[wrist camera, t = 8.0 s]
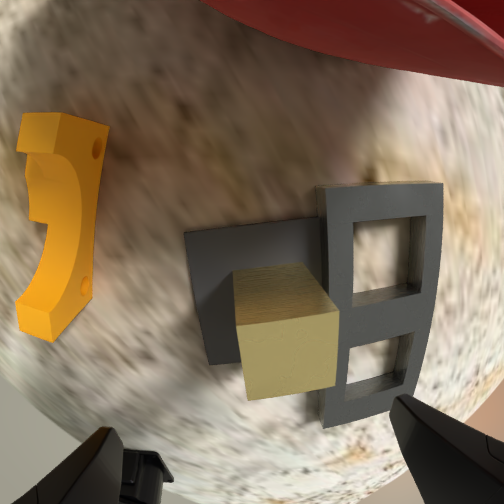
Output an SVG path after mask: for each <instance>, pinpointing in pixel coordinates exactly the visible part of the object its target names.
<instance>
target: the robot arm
mask: <svg viewBox="0 0 504 504" xmlns="http://www.w3.org/2000/svg"><path fill="white" fill-rule="evenodd" d="M389 417H390V421H391V424H392V426H393V429H394V432H395V435H396V438H397V441H398V444H399V447H400V450H401V453H402V455H403V457H404V460H405V462H406V464H407V466H408V468H409V470H410V472H411V474H412V476H413V478H414V481H415V483H416V485H417V487H418V489H419V491H420V494H421V496H422V498H423V500H424V503H425V504H504V442H502V441H499V440H497V439H495V438H493V437H490V436H488V435H485V434H484V433H482V432H480V431H478V430H475V429H474V428H472V427H470V426H468V425H466V424H464V423H462V422H460V421H458V420H456V419H454V418H452V417H450V416H448V415H446V414H444V413H442V412H440V411H438V410H437V409H435V408H433V407H431V406H429V405H427V404H425V403H423V402H421V401H420V400H418V399H416V398H414V397H412V396H410V395H409V394H401V395H398V396H396V397H395V398H394V400H393V403H392V406H391V409H390V413H389ZM163 482H169V483H172V482H174V478H173V476H172V475H171V473H170V471H169V470H168V468H167V467H166V465H165V463H164V462H163V460H162V458H161V457H160V455H159V454H158V453H156V452H148V451H132V450H123V443H122V441H121V439H120V437H119V436H118V434H117V432H116V431H115V429H114V428H113V427H106V426H102V427H100V428H99V429H98V430H97V431H96V432H95V433H93V434H92V435H91V436H90V437H89V438H88V439H87V440H86V441H85V442H83V443H82V444H81V445H80V446H79V447H78V448H77V449H76V450H75V451H74V452H72V453H71V454H70V455H69V456H68V457H67V458H66V459H65V460H64V461H62V462H61V463H60V464H59V465H58V466H57V467H55V468H54V469H53V470H52V471H51V472H50V473H49V474H47V475H46V476H45V477H44V478H43V479H42V480H41V481H40V482H39V483H37V485H35V486H34V487H33V488H31V489H30V490H29V491H28V492H26V493H25V494H24V495H23V496H21V497H20V498H19V499H17V500H16V501H14V502H13V503H12V504H160V503H161V495H162V487H163Z"/></svg>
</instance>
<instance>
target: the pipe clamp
mask: <svg viewBox="0 0 504 504" xmlns="http://www.w3.org/2000/svg"><path fill="white" fill-rule="evenodd" d="M109 128H110V126H107V125H103V124H100V123H97V122H94V121H90V120H87V119H83V118H80V117H76V116H73V115H69V114H66V113H62V112H34V113H23V116H22V120H21V125H20V131H19V136H18V142H17V148H16V151H19V152H24V153H26V154H27V162H26V170H25V178H26V182H27V187H28V194H29V220H31V221H35V222H40V223H45V224H48V228H47V235H46V241H45V245H44V250H43V253H42V257H41V260H40V263H39V266H38V268H37V271H36V273H35V275H34V277H33V279H32V281H31V283H30V285H29V286H28V288H27V289H26V291H25V292H24V293H23V294H22V296H21V297H20V298H19V299H18V300H16V301H15V304H16V311H17V317H18V323H19V329H20V331H22V332H25V333H27V334H30V335H33V336H35V337H38V338H41V339H43V340H46V341H49V342H52V343H53V342H54V341H55V340H56V339H57V337H58V336H59V335H60V334H61V333H62V332H63V330H64V329H65V328H66V327H67V326H68V325H69V323H70V322H71V321H72V320H73V319H74V318H75V317H76V315H77V314H78V313H79V312H80V311H81V310H82V309H83V308H84V306H85V305H86V304H87V303H88V302H89V301H90V300H91V299H92V275H93V248H94V232H95V220H96V210H97V201H98V193H99V185H100V178H101V171H102V165H103V159H104V153H105V148H106V142H107V137H108V133H109Z"/></svg>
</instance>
